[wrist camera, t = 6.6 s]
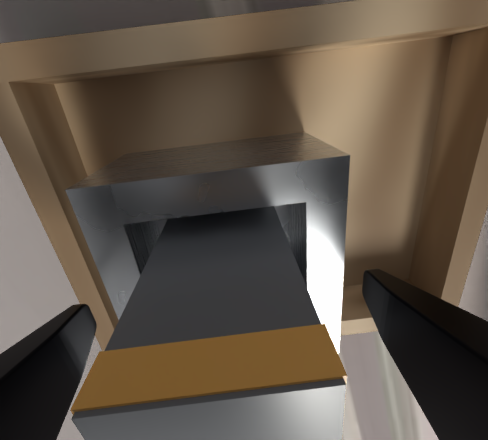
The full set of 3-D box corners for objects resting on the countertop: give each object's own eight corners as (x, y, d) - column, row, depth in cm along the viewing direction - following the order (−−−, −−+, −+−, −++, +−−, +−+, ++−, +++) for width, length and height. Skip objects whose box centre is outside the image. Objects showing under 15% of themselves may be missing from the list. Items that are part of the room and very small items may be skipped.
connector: (270, 194, 11) (349, 381, 4) (276, 275, 13) (339, 509, 6) (171, 206, 11) (66, 417, 4) (191, 286, 13) (143, 534, 6)
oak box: (464, 8, 11) (556, -24, 8) (412, 279, 17) (453, 321, 14) (34, 60, 11) (-42, 48, 8) (130, 314, 17) (108, 363, 14)
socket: (299, 129, 13) (350, 155, 8) (302, 267, 16) (338, 353, 11) (133, 149, 13) (65, 189, 8) (170, 283, 16) (142, 377, 11)
